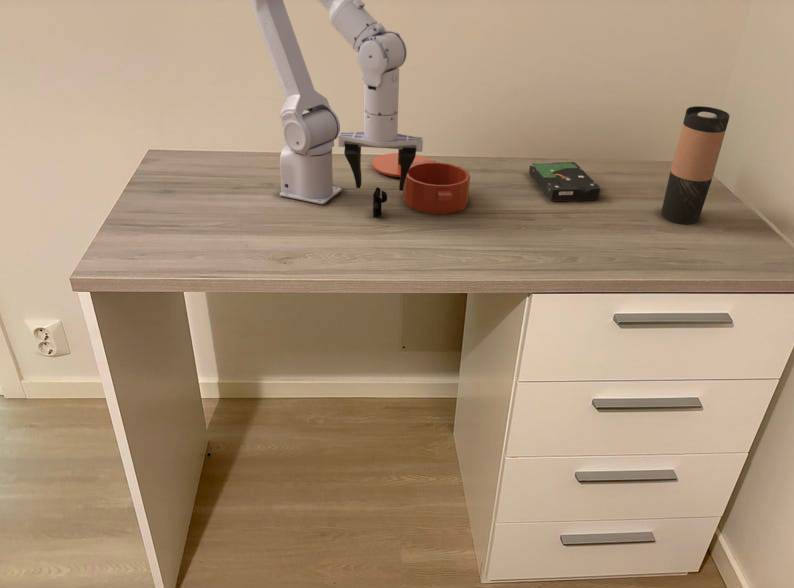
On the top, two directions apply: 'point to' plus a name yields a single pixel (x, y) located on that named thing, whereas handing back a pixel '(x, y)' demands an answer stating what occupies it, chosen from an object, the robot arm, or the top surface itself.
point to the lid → (393, 163)
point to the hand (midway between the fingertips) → (380, 187)
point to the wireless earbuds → (378, 202)
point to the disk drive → (564, 181)
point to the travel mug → (694, 163)
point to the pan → (436, 187)
